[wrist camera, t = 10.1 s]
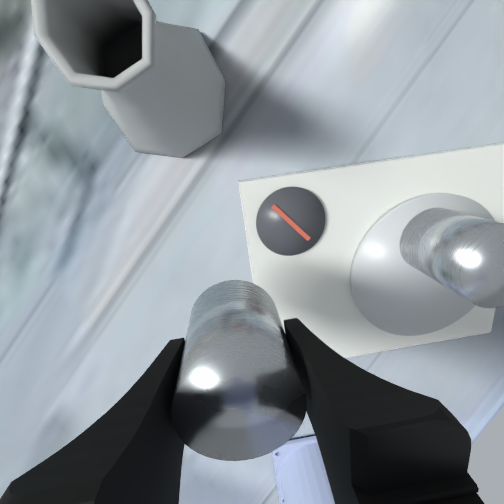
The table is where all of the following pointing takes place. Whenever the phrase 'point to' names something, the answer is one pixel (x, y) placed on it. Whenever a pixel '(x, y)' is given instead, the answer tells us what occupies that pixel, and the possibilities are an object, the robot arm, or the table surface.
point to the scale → (367, 246)
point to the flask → (137, 70)
